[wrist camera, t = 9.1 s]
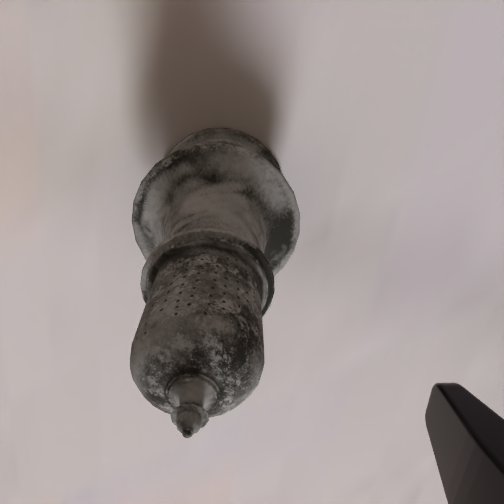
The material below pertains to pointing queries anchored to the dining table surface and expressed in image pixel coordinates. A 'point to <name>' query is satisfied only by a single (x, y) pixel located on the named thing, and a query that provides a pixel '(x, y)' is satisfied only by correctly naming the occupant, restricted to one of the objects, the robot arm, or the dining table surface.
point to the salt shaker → (208, 272)
